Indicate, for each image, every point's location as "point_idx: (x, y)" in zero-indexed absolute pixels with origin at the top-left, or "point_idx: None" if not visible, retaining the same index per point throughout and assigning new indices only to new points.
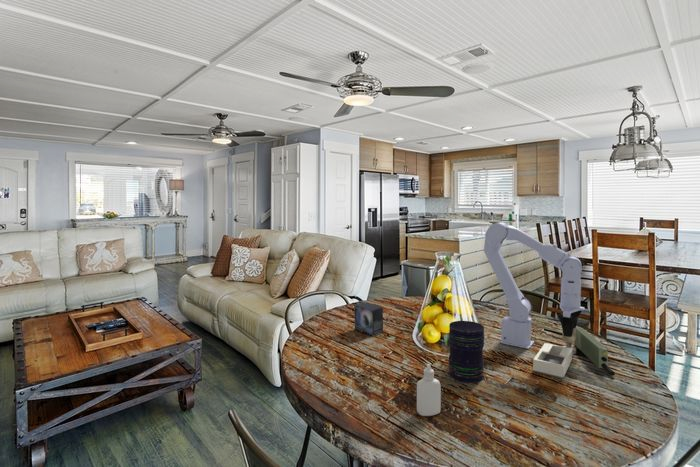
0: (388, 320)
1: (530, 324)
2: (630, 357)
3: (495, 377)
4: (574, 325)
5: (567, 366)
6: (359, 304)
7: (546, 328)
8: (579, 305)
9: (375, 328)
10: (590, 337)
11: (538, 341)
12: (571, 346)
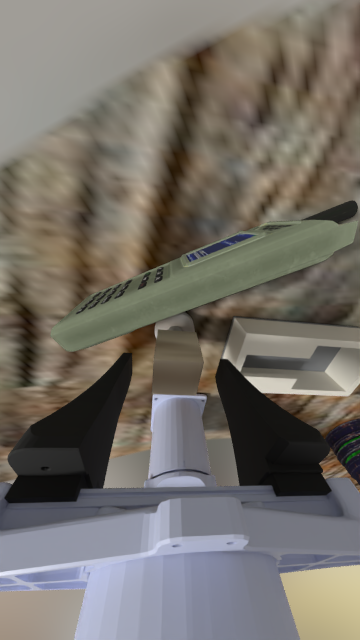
0: None
1: (188, 456)
2: (105, 105)
3: (355, 409)
4: (125, 370)
5: (315, 327)
6: None
7: (12, 383)
8: (242, 620)
9: None
10: (190, 294)
11: (138, 385)
12: (175, 329)
